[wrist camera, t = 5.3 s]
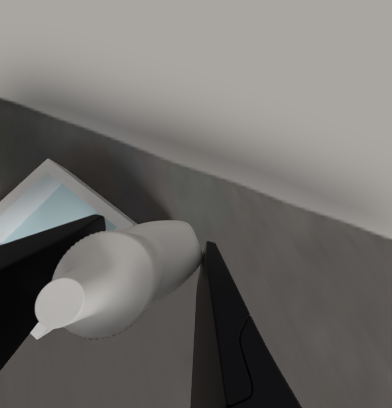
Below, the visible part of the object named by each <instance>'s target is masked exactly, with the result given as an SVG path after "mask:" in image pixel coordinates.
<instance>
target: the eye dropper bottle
mask: <svg viewBox="0 0 392 408" xmlns="http://www.w3.org/2000/svg"><path fill="white" fill-rule="evenodd" d="M201 261H202V251H201V248H200V245H199V243H198V240H197V238H196V235H195V233H194V231H193V229H192V227H191V226H190V225H189V224H188V223H186V222H184V221H177V220H162V221H152V222H146V223H142V224H138V225H134V226H131V227H129V228H126V229H123V230H121V231H117V230H116V231H113V230H111V231H107V230H106V231H105V232H104V231H101V232H99V233H97V232H96V233H95V234H90V235H89V236H88V237H87V236H86V237H85V238H84V239H81V240H80V241H79V242H76V243H75V245H74V246H72V247H71V248H70V250H67V252H66V254H65V255H63V258H62V259H61V260H60V262H59V264H58V265H57V268H56V270H55V272H54V275H53V278H52V281H51V282H50V283H48V284H47V285H46V286H45V287H44V288H43V289H42V290H41V291H40V293H39V295H38V297H37V299H36V303H35V314H36V317H37V319H38V321H39V322H40V323H41V324H42V325H43V326H45V327H48V328H61V327H64V328H65V329H67V330H68V331H69V332H72V333H73V334H74V335H78V336H79V337H83V338H85V339H86V338H89V339H91V340H92V339H93V338H94V339H98V338H101V339H104V338H105V337H107V338H109V337H110V336H115V335H116V334H117V333H121V332H122V331H123V330H126V329H127V328H128V327H131V326H132V324H133V323H135V322H136V321H137V319H138V318H140V317H141V315H142V314H143V313H144V312H145V310H146V308H147V307H148V306H150V305H152V304H154V303H156V302H158V301H160V300H161V299H163V298H165V297H166V296H168V295H169V294H171V293H172V292H174V291H175V290H176V289H177V288H179V287H180V286H181V285H182V284H183V283H184V282H185V281H186V280H187V279H188V278H189V277H190V276H191V275H192V274H193V273H194V272H195V271H196V269H197V268H198V267H199V265H200V263H201Z"/></svg>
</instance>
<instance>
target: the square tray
mask: <svg viewBox="0 0 392 408" xmlns="http://www.w3.org/2000/svg"><path fill="white" fill-rule="evenodd" d="M93 214H98V215H102V216H104V217H105V224H106V230H107V231H111V230H113V231H116V230H117V231H121V230H123V229H126V228H129V227H131V226H134V225H138V224H137V223H136V222H134V221H133V220H132V219H130V218H129V217H128V216H127V215H125V214H124V213H123V212H121V211H120V210H119V209H118V208H116V207H115V206H114V205H112V204H111V203H110V202H109V201H107V200H106V199H105V198H103V197H102V196H101V195H99V194H98V193H97V192H96V191H94V190H93V189H92V188H90V187H89V186H88V185H87V184H85V183H84V182H83V181H81V180H80V179H79V178H78V177H76V176H75V175H74V174H72V173H71V172H70V171H68V170H67V169H65V168H64V167H62V166H60V165H59V164H57V163H55V162H54V161H52V160H50V159H49V158H48V159H46V160H45V161H44V162H43V163H42V164H41V165H40V166H39V167H38V168H37V169H36V170H34V171H33V172H32V173H31V174H30V175H29V176H28V177H27V178H26V179H25V180H23V181H22V182H21V183H20V184H19V185H18V186H17V187H16V188H15V189H14V190H13V191H11V192H10V193H9V194H8V195H7V196H6V197H5V198H4V199H3V200H2V201H0V245H2V244H5V243H8V242H11V241H14V240H17V239H20V238H23V237H26V236H29V235H32V234H35V233H39V232H42V231H45V230H48V229H51V228H54V227H57V226H60V225H63V224H66V223H69V222H72V221H75V220H78V219H81V218H84V217H87V216H90V215H93ZM53 329H55V328H48V327H45V326H43V325H42V324H41V323H40V322H38V324H37V325H36V326H35V327H34V329H33V330H32V331H31V332H30V333H31V334H32V335H33V336H34V337H35V338H36V339H39V338H41V337H42V336H44V335H45V334H47V333H48V332H50V331H51V330H53Z"/></svg>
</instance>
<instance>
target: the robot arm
mask: <svg viewBox="0 0 392 408" xmlns="http://www.w3.org/2000/svg"><path fill="white" fill-rule="evenodd" d="M101 231H104V232H105V231H106V224H105V217H104V216H102V215H98V214H93V215H90V216H87V217H84V218H81V219H78V220H75V221H72V222H69V223H66V224H63V225H60V226H57V227H54V228H51V229H48V230H45V231H42V232H39V233H35V234H32V235H29V236H26V237H23V238H20V239H17V240H14V241H11V242H8V243H5V244H2V245H0V370H1V369H2V368H3V367H4V365H5V364H6V363H7V362H8V360H9V359H10V358H11V356H12V355H13V354H14V353H15V351H16V350H17V349H18V348H19V346H20V345H21V344H22V343H23V341H24V340H25V339H26V337H27V336H28V335H29V334H30V332H31V331H32V330H33V329H34V327H35V326H36V325H37V324H38V322H39V321H38V319H37V317H36V314H35V303H36V299H37V297H38V295H39V293H40V291H41V290H42V289H43V288H44V287H45V286H46V285H47V284H48V283H50V282H51V281H52V278H53V275H54V272H55V270H56V268H57V265H58V264H59V262H60V260H61V259H62V258H63V255H65V254H66V252H67V250H70V248H71V247H72V246H74V245H75V243H76V242H79V241H80V240H81V239H84V238H85V237H86V236H87V237H88V236H89V235H90V234H95V233H96V232H97V233H99V232H101ZM249 315H250V313H249V311H248V309H247V307H246V305H245V303H244V301H243V299H242V297H241V295H240V293H239V291H238V289H237V287H236V285H235V283H234V280H233V278H232V276H231V274H230V272H229V270H228V268H227V266H226V264H225V262H224V260H223V258H222V256H221V254H220V252H219V250H218V248H217V246H216V244H215V243H214V242H210V241H207V242H206V245H205V248H204V251H203V254H202V261H201V266H200V272H199V277H198V284H197V294H196V313H195V332H194V351H193V370H192V389H191V408H302V407H301V406H300V404H299V402H298V400H297V399H296V397H295V395H294V394H293V392H292V390H291V389H290V387H289V385H288V383H287V382H286V380H285V378H284V377H283V375H282V373H281V371H280V370H279V368H278V366H277V365H276V363H275V361H274V359H273V357H272V356H271V354H270V352H269V350H268V349H267V347H266V345H265V343H264V341H263V339H262V337H261V335H260V333H259V331H258V329H257V328H256V325H255V323H254V321H253V319H252V317H251V316H249Z"/></svg>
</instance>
